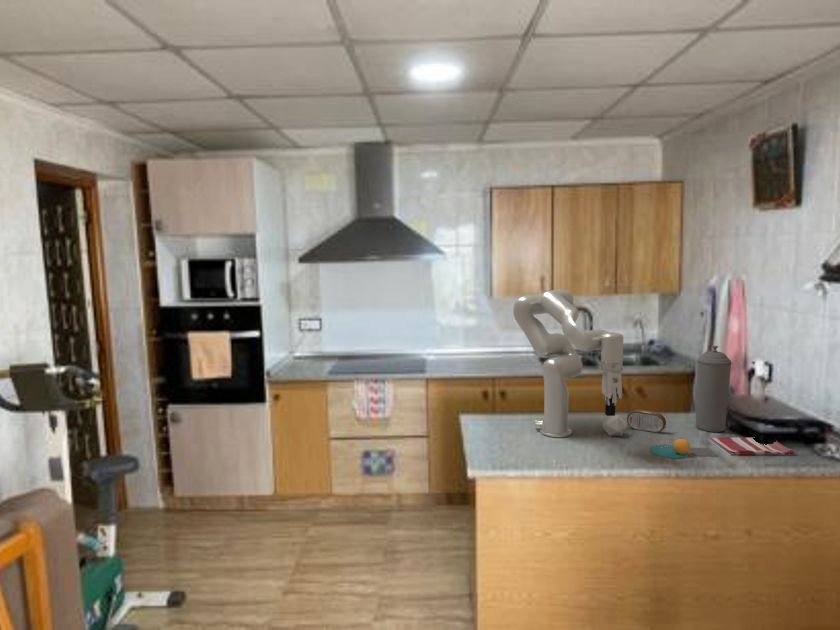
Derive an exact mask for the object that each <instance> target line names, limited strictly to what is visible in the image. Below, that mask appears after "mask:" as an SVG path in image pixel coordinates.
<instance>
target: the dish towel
mask: <svg viewBox="0 0 840 630" xmlns="http://www.w3.org/2000/svg"><path fill="white" fill-rule="evenodd" d="M753 438H754V437H740V436H738V437H729V436H728V437H727V436H726V437H725V436H724V437H719V436H717V437H709V438H708V442H710V443H712V444H713V445H714V446H716V447H718V448H719V449H720V450H721V451H723V452H724V453H726V454H728V455H729V456H739V457H741V456H742V457H747V456H748V457H753V456H795V451H794V449H791V448H789V447H786V446H784V445H783V444H781V443H780V442H778V441H777V440H776V442H774V443H773V444H767V445H765V444H764V445H763V444H760V443H758V442H756V441H755V440H754V439H753ZM789 454H790V455H789Z"/></svg>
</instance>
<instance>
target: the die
mask: <svg viewBox="0 0 840 630" xmlns="http://www.w3.org/2000/svg"><path fill="white" fill-rule="evenodd" d="M627 426H628V423H627V422H626V421H625V420H624V419H623V417H622V416H621V414H615V416H607V415H606V417H605V420H604V422H603V424H602V427H603V429H604V430H605V431H606V433H607V435H608V436H610V437H612V436H613V437H614V436H615V437H617V436H620V437H621V436H623V434H624V432H625V430H626V428H627Z"/></svg>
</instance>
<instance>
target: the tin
mask: <svg viewBox="0 0 840 630" xmlns="http://www.w3.org/2000/svg"><path fill="white" fill-rule="evenodd" d="M626 421H627V422H626V423H627V425H628V426H629V427H630V428H631V429H633V430H634V431H635V430H636V431H642V432H648V433H655V434H659V433H662V431H664V429H665V428H666V426H667V420H666V417H665V416H664V415H663V414H662V413H660V412H657V411H652V410H645V409H640V408H639V409H636V408H635V409H631V410H630V411H629V412H628V414H627V417H626Z"/></svg>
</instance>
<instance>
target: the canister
mask: <svg viewBox="0 0 840 630" xmlns="http://www.w3.org/2000/svg"><path fill="white" fill-rule="evenodd" d="M711 348H712V350H710V351H708V350H707V351H705V352H703V353H702V354H701V355H700V356H699V357H698V358H697V359H696V393H695V395H696V396H695V397H696V398H695V399H696V403H695V404H696V405H695V427H696V428H697V429H699V430H701V431H705V432H713V433H720V432H724V431H725V430H726V424H727V413H728V404H729V403H728V402H729V395H730V394H729V393H730V381H731V367H732V364H733V362H732V360H731V359H730V358H729V357H728V356H727V354H725V353H724V352H722V351H718V350H717V349H718V348H719V346H718V345H711Z"/></svg>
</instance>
